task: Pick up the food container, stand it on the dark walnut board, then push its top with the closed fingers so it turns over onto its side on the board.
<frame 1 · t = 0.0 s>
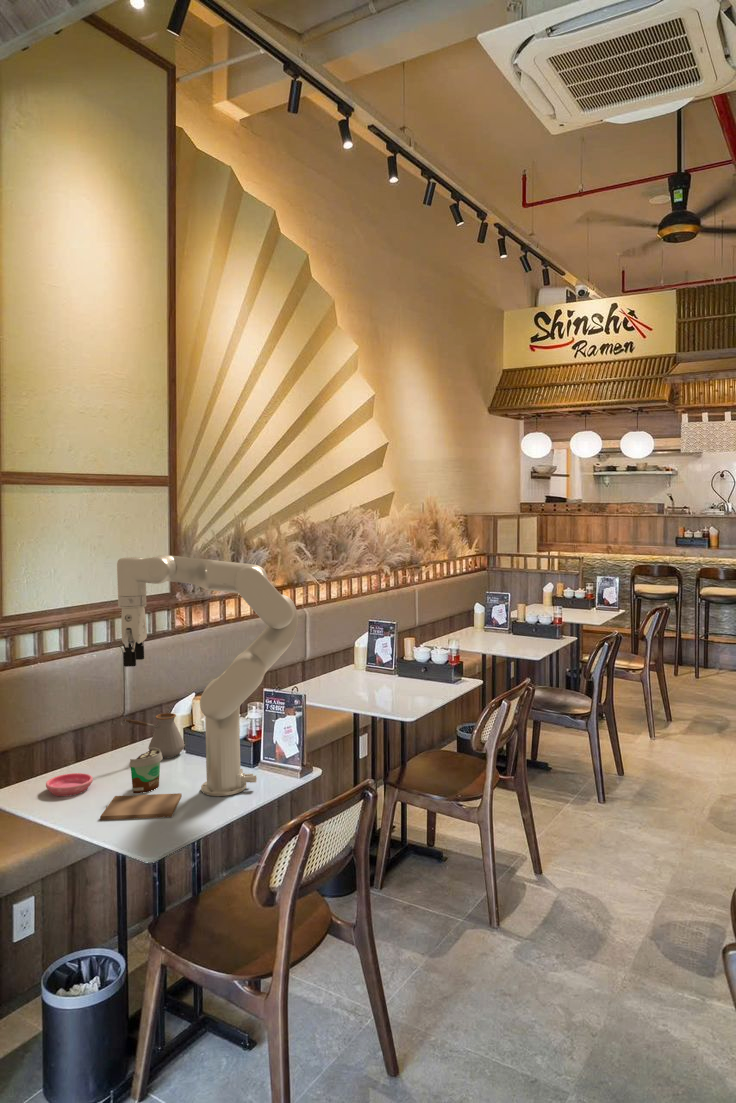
hand: (134, 662, 211), 37 cm above the table, tool pointing down, fingers open, 9 cm apart
coffee pot: (153, 759, 242), on the table
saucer: (69, 791, 215), on the table
walnut board: (142, 808, 201), on the table
food container: (151, 788, 216), on the table
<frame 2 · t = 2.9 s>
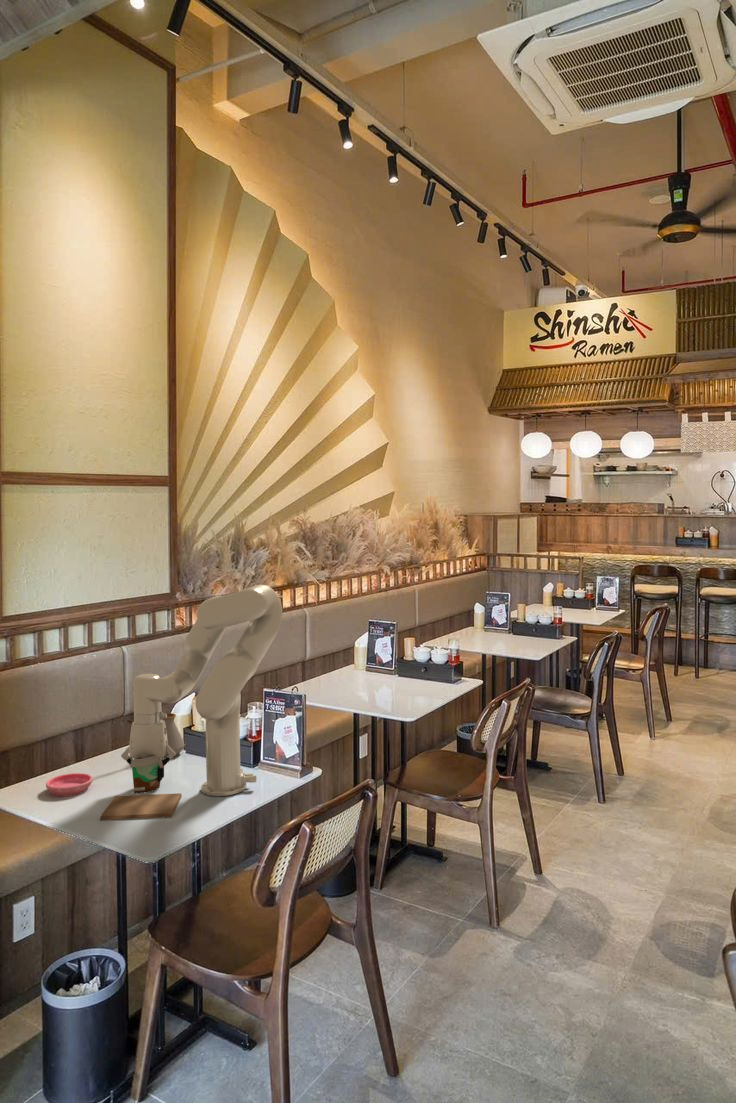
hand: (149, 779, 216), 2 cm above the table, tool pointing down, fingers closed on food container, 5 cm apart
food container: (152, 788, 216), on the table, touching gripper
everything else where it was.
when the fingers open (4 cm above the table, at t = 9.1 s): food container moves 1 cm, resting on walnut board.
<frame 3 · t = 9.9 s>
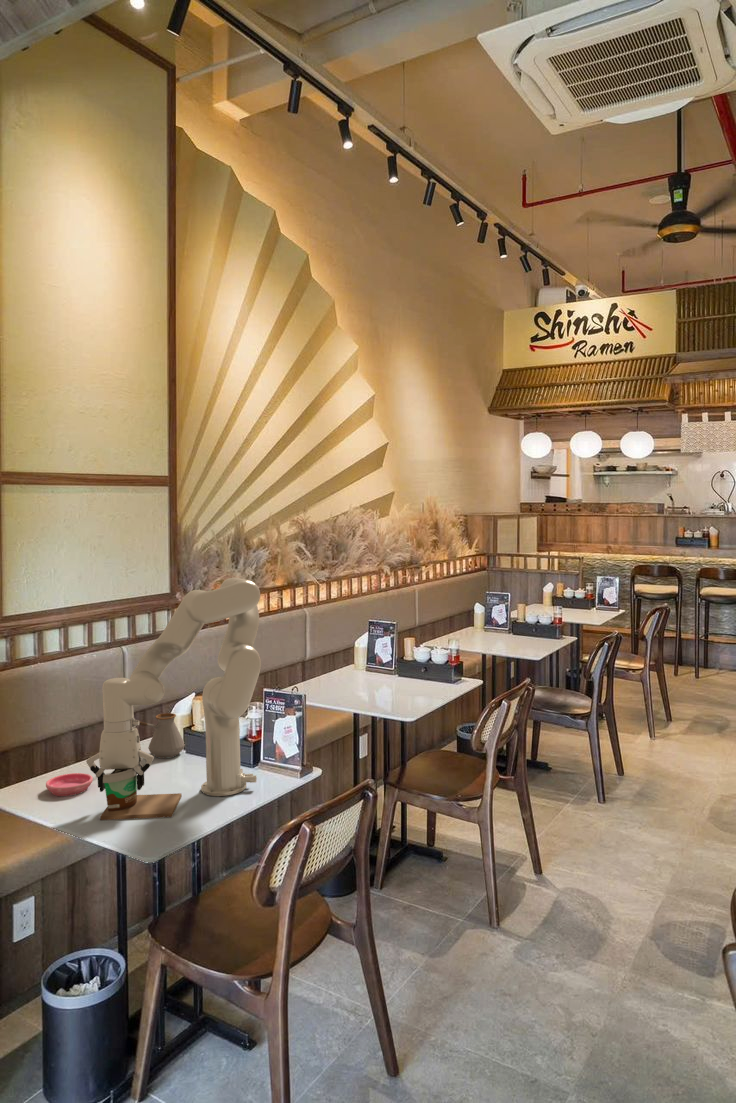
hand: (121, 789, 200), 5 cm above the table, tool pointing down, fingers open, 9 cm apart
food container: (128, 805, 201), point 1 cm above the table, touching gripper, walnut board
everything else where it was.
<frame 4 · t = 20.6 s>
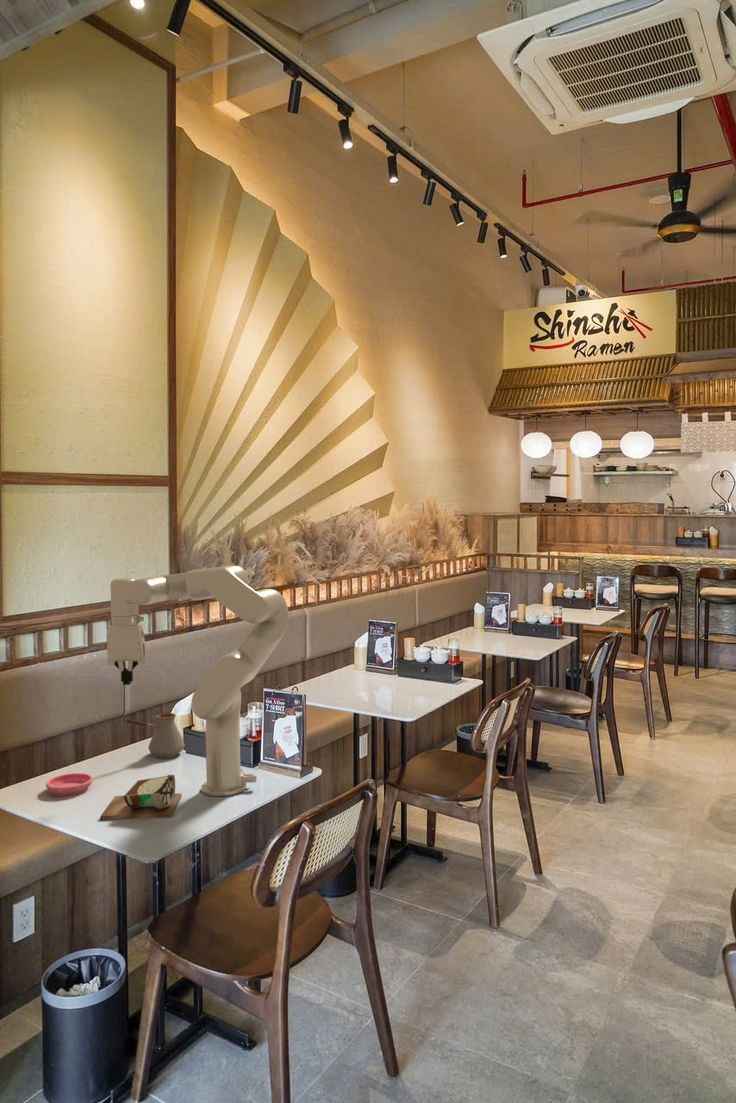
hand: (127, 683, 219), 29 cm above the table, tool pointing down, fingers closed
food container: (132, 799, 200), point 3 cm above the table, touching walnut board
everything else where it was.
at the end: food container tilted 82°; food container inside the target area (2.5 cm from its centre), point 2.8 cm above the table; the gripper is holding nothing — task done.
